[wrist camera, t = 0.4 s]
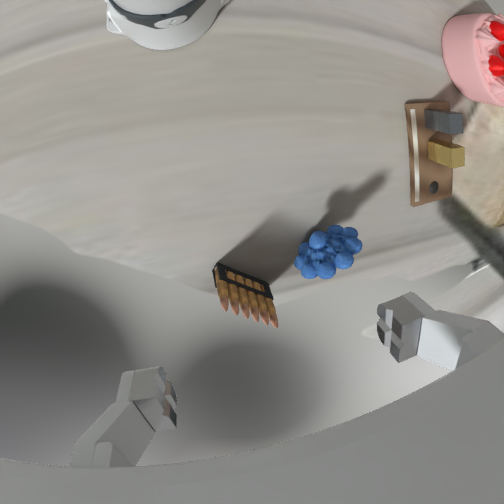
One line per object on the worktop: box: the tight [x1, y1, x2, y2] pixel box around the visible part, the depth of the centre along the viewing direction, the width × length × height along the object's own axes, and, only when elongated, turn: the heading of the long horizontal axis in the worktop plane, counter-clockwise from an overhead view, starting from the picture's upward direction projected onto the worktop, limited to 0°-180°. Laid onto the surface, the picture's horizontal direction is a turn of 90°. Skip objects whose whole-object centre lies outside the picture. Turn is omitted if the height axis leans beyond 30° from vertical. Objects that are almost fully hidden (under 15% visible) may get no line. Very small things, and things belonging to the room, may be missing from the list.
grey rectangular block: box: [424, 109, 463, 134], centre depth 43 cm, size 4×4×7 cm
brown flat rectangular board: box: [405, 102, 452, 207], centre depth 49 cm, size 20×11×1 cm, turn 12°
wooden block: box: [428, 140, 465, 168], centre depth 45 cm, size 4×4×7 cm
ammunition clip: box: [212, 263, 278, 328], centre depth 50 cm, size 11×2×12 cm, turn 60°
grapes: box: [294, 225, 362, 279], centre depth 48 cm, size 12×7×12 cm, turn 130°
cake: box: [442, 13, 504, 107], centre depth 35 cm, size 20×20×14 cm
